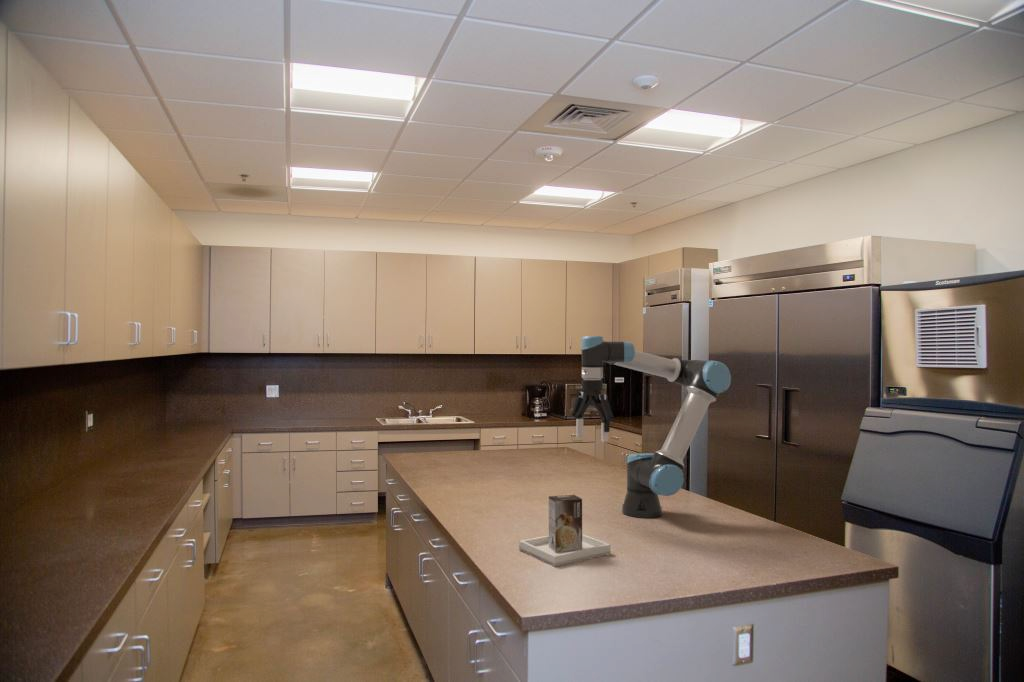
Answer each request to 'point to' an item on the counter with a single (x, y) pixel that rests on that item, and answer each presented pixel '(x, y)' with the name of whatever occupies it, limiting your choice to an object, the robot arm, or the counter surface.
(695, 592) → the counter surface
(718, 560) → the counter surface
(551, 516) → the coffee box
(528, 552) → the white tray
